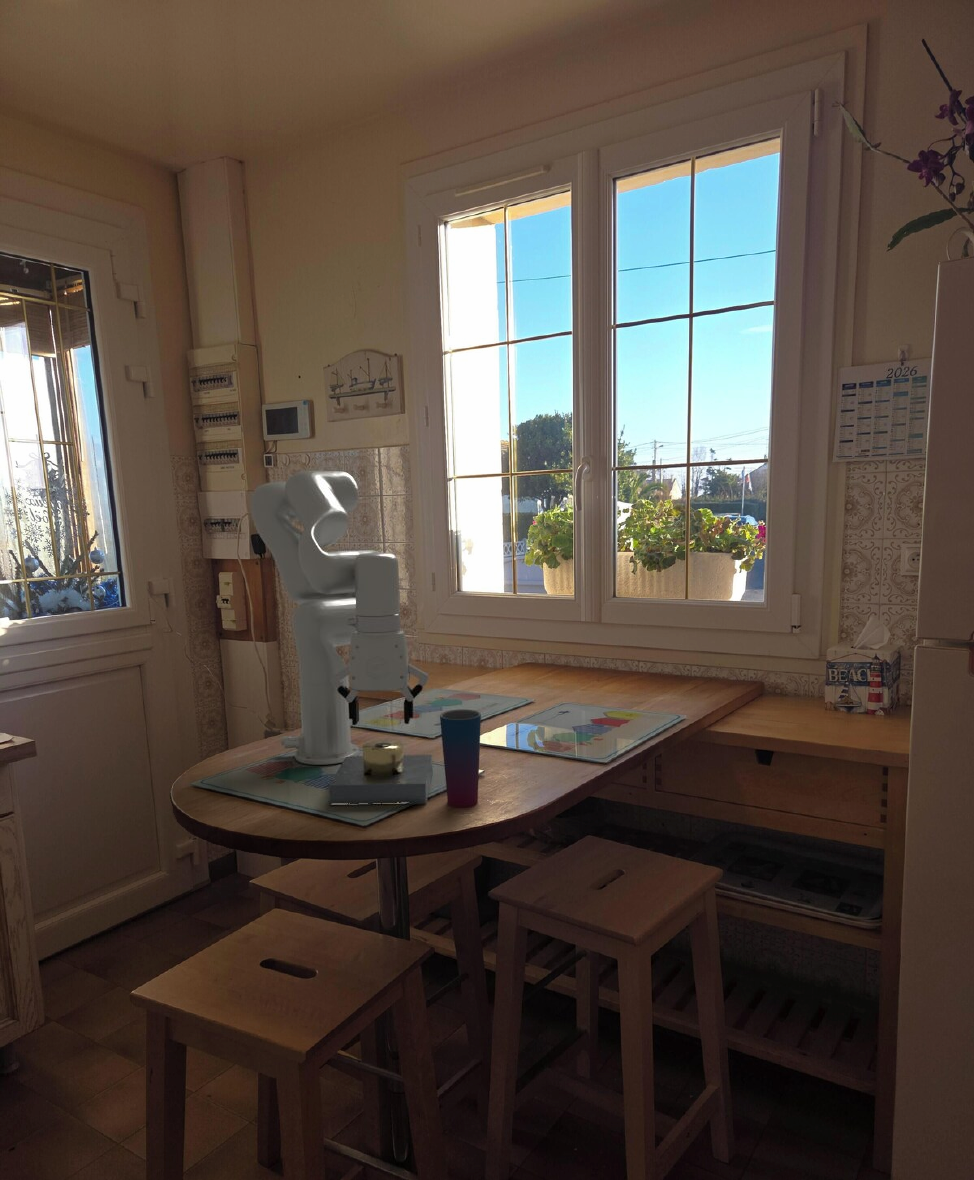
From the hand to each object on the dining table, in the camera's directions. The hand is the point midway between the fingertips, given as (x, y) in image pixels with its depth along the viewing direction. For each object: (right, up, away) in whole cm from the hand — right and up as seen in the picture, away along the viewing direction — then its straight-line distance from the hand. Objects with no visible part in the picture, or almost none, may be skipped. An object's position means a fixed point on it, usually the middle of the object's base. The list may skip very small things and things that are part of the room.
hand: (381, 722), depth 142 cm
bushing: (0, -12, +1) cm, 12 cm away
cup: (+14, -13, -6) cm, 20 cm away
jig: (0, -12, +1) cm, 12 cm away
